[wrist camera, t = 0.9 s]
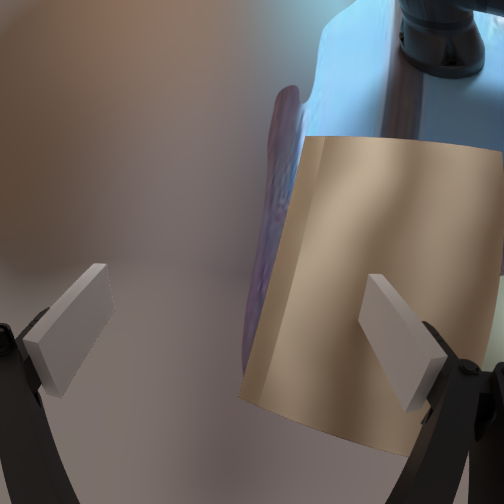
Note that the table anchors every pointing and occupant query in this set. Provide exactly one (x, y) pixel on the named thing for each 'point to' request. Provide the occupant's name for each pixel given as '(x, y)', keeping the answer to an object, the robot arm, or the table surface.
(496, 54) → the table surface
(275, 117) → the table surface
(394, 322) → the robot arm
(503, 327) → the mat
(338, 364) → the shelf
